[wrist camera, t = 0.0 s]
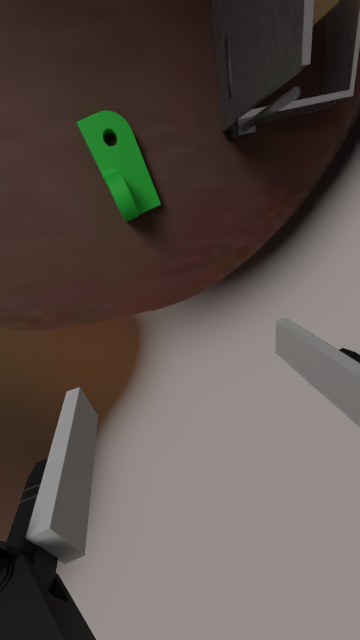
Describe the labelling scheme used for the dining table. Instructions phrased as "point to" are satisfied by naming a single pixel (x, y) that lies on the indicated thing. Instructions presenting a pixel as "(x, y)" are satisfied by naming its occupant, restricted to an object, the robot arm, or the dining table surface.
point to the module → (322, 8)
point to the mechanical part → (120, 163)
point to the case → (279, 58)
